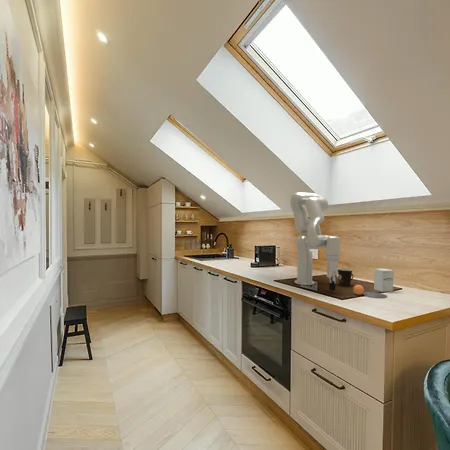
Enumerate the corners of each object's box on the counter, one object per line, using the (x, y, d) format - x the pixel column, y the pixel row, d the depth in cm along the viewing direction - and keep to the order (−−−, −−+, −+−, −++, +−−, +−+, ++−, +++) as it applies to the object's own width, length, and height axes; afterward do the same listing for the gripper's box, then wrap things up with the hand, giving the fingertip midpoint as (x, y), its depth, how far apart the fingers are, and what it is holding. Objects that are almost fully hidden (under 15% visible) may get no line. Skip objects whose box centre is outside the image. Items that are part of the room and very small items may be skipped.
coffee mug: (336, 283, 193) (336, 268, 193) (350, 284, 191) (350, 268, 191) (339, 287, 182) (339, 271, 181) (354, 288, 180) (354, 271, 180)
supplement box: (382, 292, 170) (382, 270, 170) (373, 289, 178) (374, 268, 177) (393, 291, 171) (394, 270, 171) (384, 288, 179) (385, 268, 179)
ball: (354, 295, 166) (350, 285, 166) (364, 292, 165) (360, 282, 165) (356, 297, 161) (353, 287, 161) (366, 294, 160) (363, 284, 160)
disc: (358, 291, 170) (358, 291, 170) (382, 293, 168) (382, 292, 168) (364, 297, 158) (364, 296, 158) (390, 298, 155) (390, 298, 155)
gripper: (324, 256, 175) (323, 286, 175) (327, 259, 160) (327, 292, 161) (337, 256, 173) (336, 287, 174) (342, 259, 159) (341, 293, 159)
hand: (332, 289), depth 167 cm, fingers closed
